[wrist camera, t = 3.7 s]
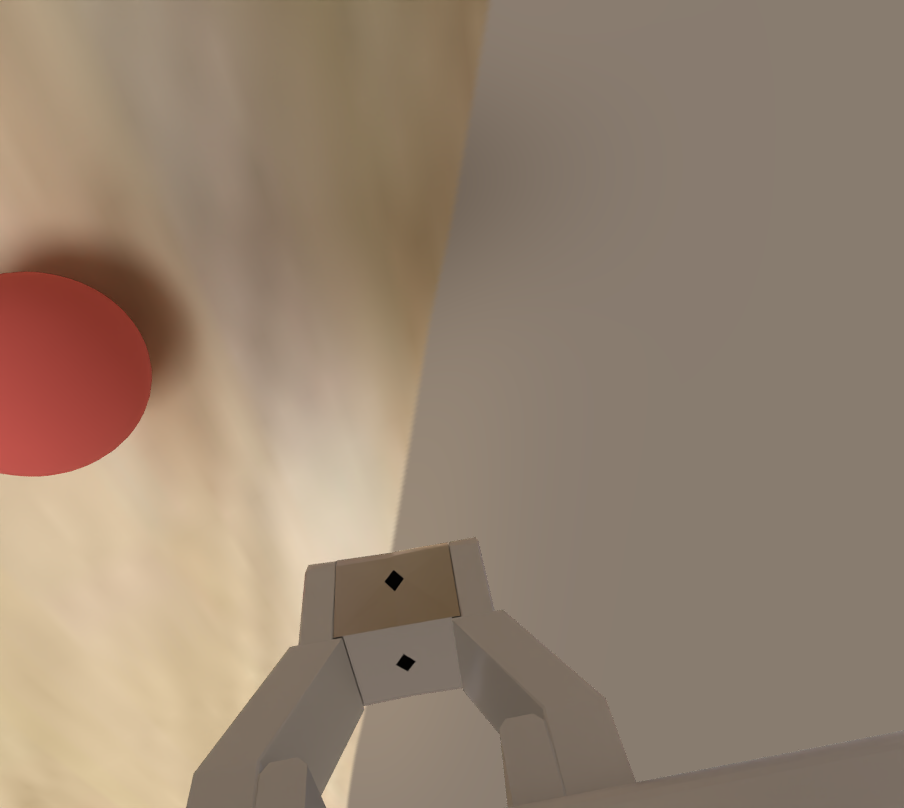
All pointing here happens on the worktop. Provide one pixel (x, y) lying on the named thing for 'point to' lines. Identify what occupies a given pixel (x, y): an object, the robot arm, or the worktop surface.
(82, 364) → the ball
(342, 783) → the worktop surface
